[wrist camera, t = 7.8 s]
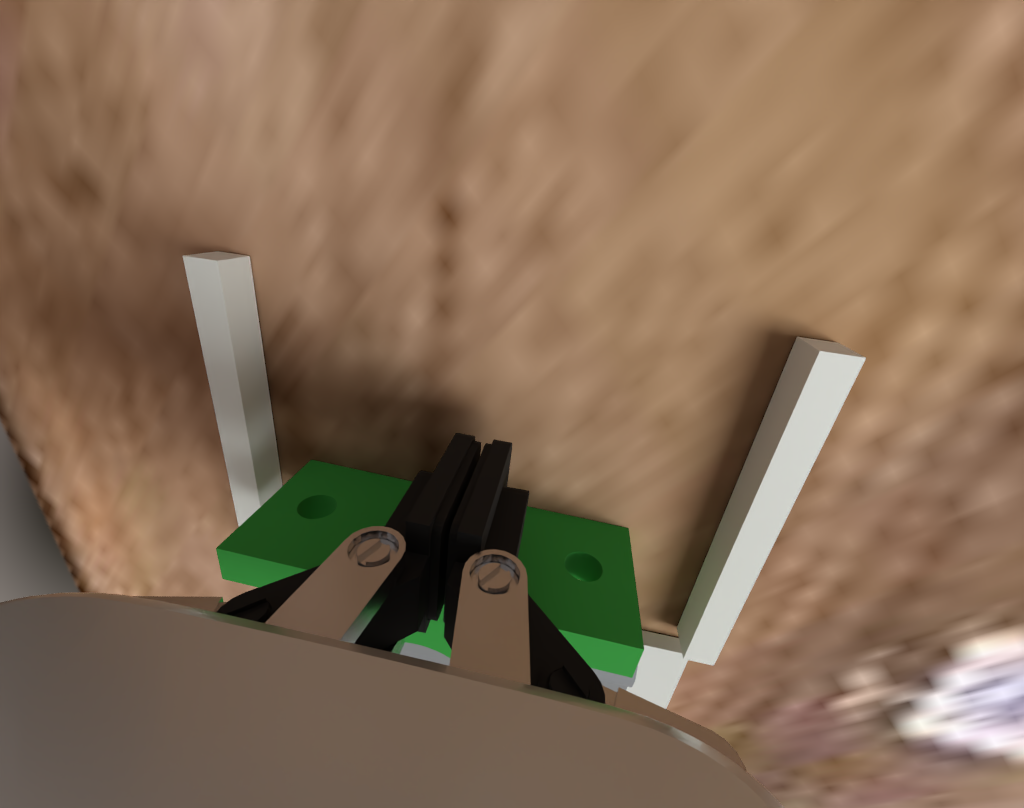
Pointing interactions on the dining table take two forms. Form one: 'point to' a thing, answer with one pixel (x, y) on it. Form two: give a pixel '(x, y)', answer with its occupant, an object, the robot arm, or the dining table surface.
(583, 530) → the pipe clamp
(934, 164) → the dining table surface
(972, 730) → the dining table surface
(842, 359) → the hinge base
